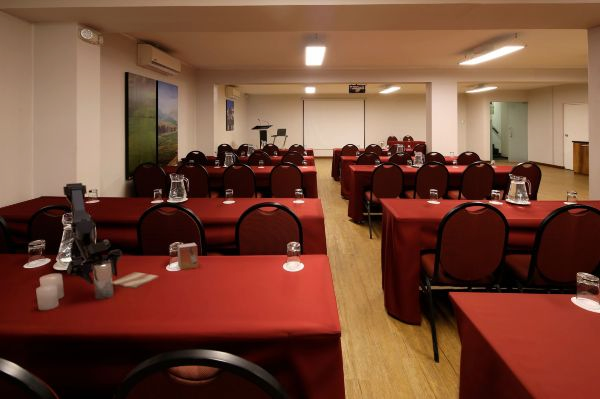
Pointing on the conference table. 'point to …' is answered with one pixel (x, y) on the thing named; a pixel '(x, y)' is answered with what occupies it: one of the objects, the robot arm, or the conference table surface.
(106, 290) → the steel flask
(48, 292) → the white squat cylinder
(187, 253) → the small box
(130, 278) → the beige square tile
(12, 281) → the conference table surface
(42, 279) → the beige rounded block
